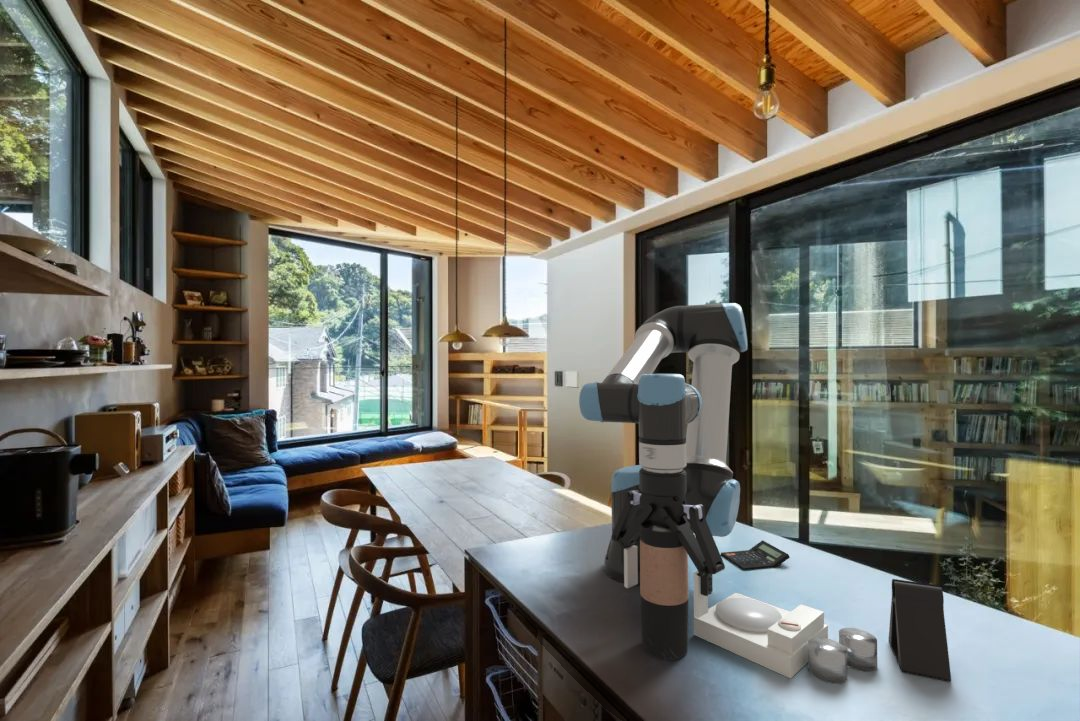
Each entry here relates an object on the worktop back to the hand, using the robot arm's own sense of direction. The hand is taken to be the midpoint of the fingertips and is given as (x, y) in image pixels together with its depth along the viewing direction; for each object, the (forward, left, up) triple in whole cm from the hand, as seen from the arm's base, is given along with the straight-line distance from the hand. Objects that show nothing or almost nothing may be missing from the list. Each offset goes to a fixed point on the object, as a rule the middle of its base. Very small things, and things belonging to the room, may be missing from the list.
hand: (663, 599), depth 83 cm
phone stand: (+28, +26, -8) cm, 39 cm away
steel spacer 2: (+22, +19, -8) cm, 30 cm away
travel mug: (0, 0, -8) cm, 8 cm away
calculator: (-8, +46, -9) cm, 48 cm away
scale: (+9, +14, -8) cm, 18 cm away
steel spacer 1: (+20, +13, -8) cm, 25 cm away
